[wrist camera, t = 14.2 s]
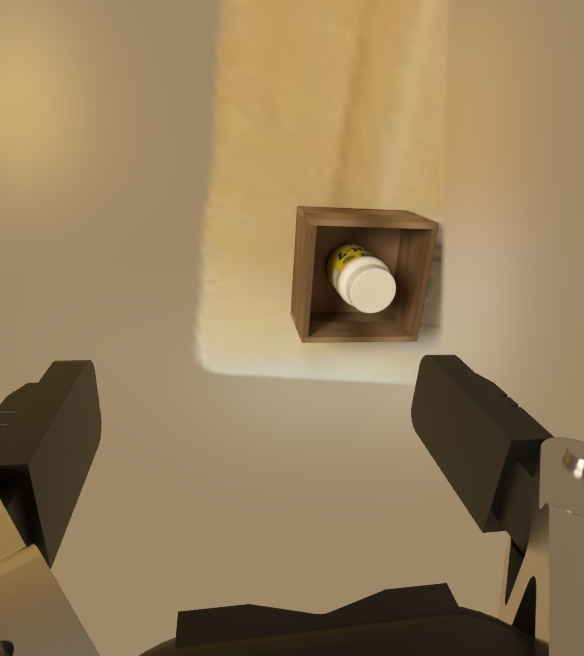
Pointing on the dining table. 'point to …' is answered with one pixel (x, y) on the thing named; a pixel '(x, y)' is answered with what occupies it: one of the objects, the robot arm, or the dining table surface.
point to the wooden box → (382, 241)
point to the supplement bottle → (360, 277)
